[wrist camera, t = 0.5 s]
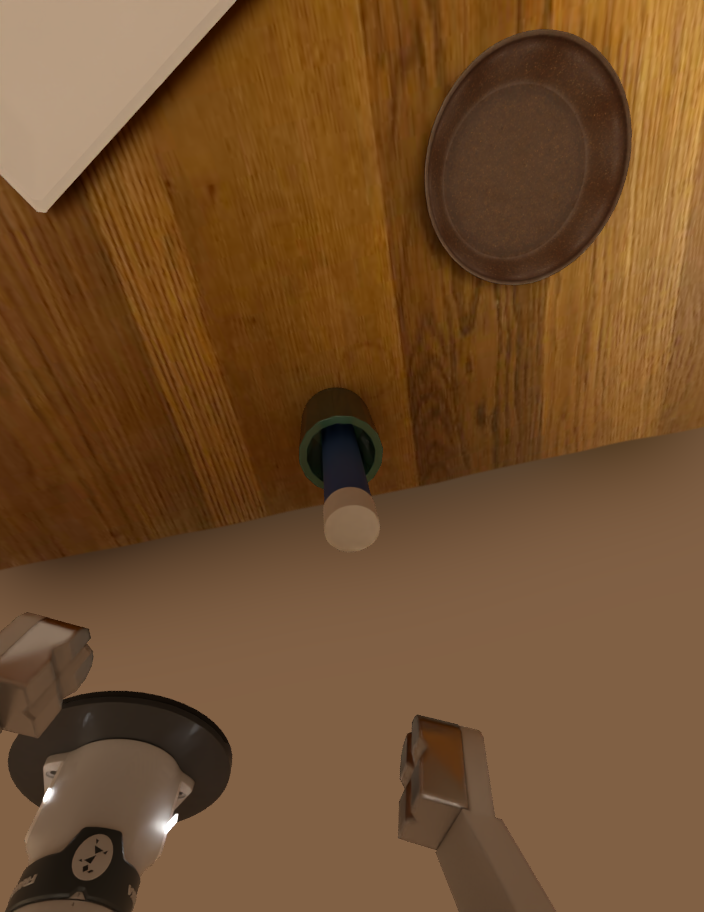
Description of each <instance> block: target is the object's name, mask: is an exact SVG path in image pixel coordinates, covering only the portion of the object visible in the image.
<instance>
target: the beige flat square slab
mask: <svg viewBox="0 0 704 912" xmlns="http://www.w3.org/2000/svg"><path fill="white" fill-rule="evenodd" d="M236 1H237V0H0V175H1V176H2V177H3V178H4V179H5V180H6V181H7V182H8V183H9V184H10V185H11V186H12V187H13V188H14V189H15V190H16V191H17V192H18V193H19V194H20V195H21V196H22V197H23V198H24V199H25V200H26V201H27V202H28V203H29V204H30V205H31V206H32V207H33V208H34V209H35V210H36V211H37V212H44V213H46V212H47V211H48V209H49V208H50V207H51V206H52V205H53V204H54V203H55V202H56V201H57V199H58V198H59V197H60V196H61V195H62V194H63V193H64V192H65V191H66V189H67V188H68V187H69V186H70V185H71V184H72V183H73V182H74V181H75V179H76V178H77V177H78V176H79V175H80V174H81V173H82V172H83V171H84V169H85V168H86V167H87V166H88V165H89V164H90V163H91V162H92V161H93V159H94V158H95V157H96V156H97V155H98V154H99V153H100V152H101V151H102V149H103V148H104V147H105V146H106V145H107V144H108V143H109V142H110V141H111V139H112V138H113V137H114V136H115V135H116V134H117V133H118V132H119V131H120V129H121V128H122V127H123V126H124V125H125V124H126V123H127V122H128V121H129V119H130V118H131V117H132V116H133V115H134V114H135V113H136V112H137V111H138V109H139V108H140V107H141V106H142V105H143V104H144V103H145V102H146V101H147V99H148V98H149V97H150V96H151V95H152V94H153V93H154V92H155V91H156V89H157V88H158V87H159V86H160V85H161V84H162V83H163V82H164V81H165V79H166V78H167V77H168V76H169V75H170V74H171V73H172V72H173V71H174V69H175V68H176V67H177V66H178V65H179V64H180V63H181V62H182V61H183V59H184V58H185V57H186V56H187V55H188V54H189V53H190V52H191V51H192V49H193V48H194V47H195V46H196V45H197V44H198V43H199V42H200V41H201V39H202V38H203V37H204V36H205V35H206V34H207V33H208V32H209V31H210V29H211V28H212V27H213V26H214V25H215V24H216V23H217V22H218V21H219V19H220V18H221V17H222V16H223V15H224V14H225V13H226V12H227V11H228V9H229V8H230V7H231V6H232V5H233V4H234V3H235V2H236Z"/></svg>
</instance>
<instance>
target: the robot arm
mask: <svg viewBox="0 0 704 912" xmlns="http://www.w3.org/2000/svg"><path fill="white" fill-rule="evenodd" d="M90 638H91V637H90V632H89V629H87V628H84V627H80V626H76V625H73V624H69V623H65V622H62V621H58V620H54V619H50V618H48V617H44V616H40V615H36V614H32V613H28V612H27V613H24V614H22V615H20V616H18V617H17V618H16V619H14V620H13V621H12V622H11V623H10V624H9V625H8V626H7V627H5V628H4V629H3V630H2V631H1V632H0V733H1V732H2V730H6V731H10V732H14V733H18V734H22V735H26V736H30V737H35V738H39V737H40V736H41V734H42V733H43V732H44V731H45V729H46V728H47V727H48V726H49V724H50V723H51V722H52V721H53V719H54V718H55V717H56V716H57V714H58V713H59V712H60V711H61V709H62V700H63V698H65V697H66V696H68V695H70V694H72V693H74V692H75V691H77V689H78V688H79V687H80V685H81V684H82V683H83V681H84V680H85V679H86V677H87V675H88V673H89V671H90V668H91V666H92V661H93V651H92V650H91V648H90V647H89V646H88V645H87V644H86V643H87V642H88V641H89V640H90ZM488 773H489V772H488V766H487V759H486V752H485V745H484V738H483V736H482V734H481V732H480V731H479V730H475V729H472V728H468V727H463V726H459V725H458V724H454V723H450V722H445V721H441V720H437V719H433V718H429V717H425V716H421V715H416V716H415V717H414V719H413V722H412V732H411V733H408V734H407V736H406V739H405V742H404V745H403V750H402V755H401V766H400V780H401V782H402V784H403V786H404V788H405V790H404V792H403V794H402V796H401V799H400V801H399V826H398V828H399V829H398V838H399V839H402V840H406V841H409V842H412V843H415V844H418V845H422V846H425V847H428V848H431V849H435V850H437V851H436V854H437V857H438V860H439V862H440V864H441V867H442V870H443V872H444V875H445V877H446V880H447V883H448V885H449V888H450V890H451V893H452V895H453V898H454V900H455V903H456V905H457V908H458V910H459V912H556V910H555V909H554V907H553V905H552V904H551V902H550V900H549V899H548V897H547V895H546V893H545V892H544V890H543V888H542V887H541V885H540V883H539V881H538V880H537V878H536V876H535V875H534V873H533V871H532V870H531V868H530V866H529V865H528V863H527V861H526V859H525V858H524V856H523V854H522V853H521V851H520V849H519V848H518V846H517V844H516V843H515V841H514V839H513V837H512V836H511V834H510V832H509V831H508V829H507V827H506V826H505V824H504V822H503V821H502V819H498V818H496V817H495V813H494V807H493V800H492V793H491V786H490V779H489V774H488ZM43 775H44V795H45V796H44V799H43V801H42V803H41V805H40V807H39V810H38V812H37V814H36V816H35V818H34V820H33V822H32V824H31V826H30V828H29V830H28V832H27V835H26V837H25V840H24V841H25V843H26V852H27V854H28V857H29V865H28V867H27V868H26V869H25V871H24V872H23V874H22V876H21V878H20V881H19V883H18V885H17V886H16V888H15V889H14V891H13V893H12V895H11V897H10V900H9V902H8V907H7V908H6V911H5V912H132V911H133V908H134V905H135V902H136V895H137V891H138V888H139V884H140V876H141V875H142V874H143V872H144V871H145V870H146V869H147V868H148V867H150V866H151V865H152V864H153V863H154V861H155V860H156V859H158V858H159V857H160V855H161V853H162V850H163V846H164V843H165V839H166V836H167V833H168V831H169V830H170V828H172V826H173V825H174V824H175V823H176V821H177V817H178V814H175V816H174V817H173V818H172V816H173V812H174V810H175V809H176V808H177V807H178V806H179V805H180V804H181V803H182V802H183V801H184V800H185V799H186V797H187V796H188V795H189V794H190V793H191V792H192V790H193V787H194V784H195V782H194V780H193V779H192V778H191V777H189V776H188V775H186V774H185V773H183V772H182V771H181V769H180V768H179V766H178V764H177V762H176V761H175V759H174V758H173V757H172V756H171V755H170V754H168V753H167V752H165V751H164V750H162V749H160V748H158V747H156V746H154V745H151V744H148V743H145V742H141V741H136V740H129V739H106V740H100V741H95V742H92V743H89V744H86V745H84V746H82V747H80V748H78V749H76V750H73V751H71V752H66V753H59V754H54V755H51V756H49V757H48V758H47V759H46V762H45V764H44V766H43Z"/></svg>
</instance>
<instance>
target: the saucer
mask: <svg viewBox="0 0 704 912" xmlns="http://www.w3.org/2000/svg"><path fill="white" fill-rule="evenodd" d="M631 138H632V130H631V118H630V111H629V106H628V102H627V99H626V95H625V91H624V89H623V86H622V84H621V82H620V80H619V77H618V76H617V74H616V72H615V71H614V69H613V68H612V66H611V64H610V63H609V62H608V60H607V59H606V58H605V57H604V56H603V55H602V54H601V52H599V51H598V50H597V49H596V48H595V47H594V46H593V45H591V44H590V43H589V42H587V41H585V40H584V39H582V38H580V37H578V36H576V35H574V34H570V33H567V32H563V31H557V30H547V29H539V30H532V31H526V32H522V33H519V34H516V35H513V36H511V37H508V38H506V39H504V40H502V41H500V42H498V43H496V44H494V45H493V46H492V47H490V48H488V49H487V50H486V51H484V52H483V53H482V54H481V55H480V56H478V57H477V58H476V59H475V60H474V61H473V62H472V63H471V64H470V65H469V66H468V67H467V68H466V70H465V71H464V72H463V73H462V74H461V76H460V77H459V78H458V80H457V81H456V82H455V84H454V85H453V87H452V88H451V90H450V92H449V93H448V95H447V97H446V98H445V100H444V102H443V104H442V106H441V108H440V110H439V113H438V115H437V117H436V120H435V123H434V125H433V128H432V131H431V135H430V139H429V143H428V148H427V155H426V161H425V194H426V202H427V207H428V212H429V215H430V219H431V222H432V225H433V227H434V230H435V232H436V234H437V236H438V238H439V240H440V242H441V244H442V245H443V247H444V248H445V250H446V251H447V252H448V254H449V255H450V256H451V257H452V258H453V259H454V260H455V261H456V262H457V263H458V264H459V265H460V266H461V267H462V268H464V269H465V270H466V271H468V272H469V273H471V274H473V275H475V276H476V277H478V278H481V279H483V280H486V281H489V282H492V283H497V284H505V285H521V284H528V283H532V282H536V281H539V280H542V279H544V278H546V277H549V276H551V275H553V274H555V273H557V272H559V271H560V270H562V269H563V268H565V267H566V266H568V265H569V264H571V263H572V262H573V261H574V260H576V259H577V258H578V257H579V256H580V255H581V254H582V253H583V252H584V251H585V250H586V249H587V248H588V247H589V246H590V245H591V244H592V243H593V242H594V240H595V239H596V238H597V236H598V235H599V234H600V232H601V231H602V229H603V228H604V226H605V225H606V223H607V221H608V220H609V218H610V216H611V214H612V213H613V211H614V209H615V207H616V205H617V203H618V200H619V198H620V195H621V192H622V189H623V186H624V183H625V180H626V176H627V171H628V167H629V161H630V154H631Z"/></svg>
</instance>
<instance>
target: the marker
mask: <svg viewBox="0 0 704 912" xmlns="http://www.w3.org/2000/svg"><path fill="white" fill-rule="evenodd" d="M321 437H322V459H323V480H324V502H325V504H324V508H323V517H324V534H325V537H326V539H327V541H328V542H329V544H331V545H332V546H333V547H334V548H336V549H338V550H341V551H344V552H357V551H361V550H364V549H366V548H368V547H369V546H370V545H372V544H373V543H374V541H375V540H376V539H377V537H378V535H379V532H380V522H379V518H378V514H377V510H376V507H375V503H374V501H373V498H372V497H371V494H370V490H369V486H368V482H367V478H366V474H365V471H364V467H363V463H362V459H361V455H360V451H359V447H358V443H357V439H356V435H355V431H354V427H353V425H351V424H338V423H336V424H333V425H330V426H328V427H325V428H323V429H321Z"/></svg>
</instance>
